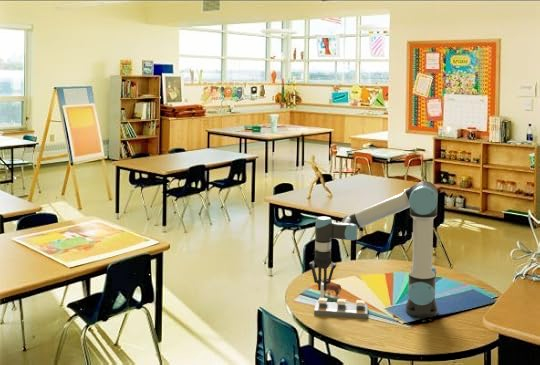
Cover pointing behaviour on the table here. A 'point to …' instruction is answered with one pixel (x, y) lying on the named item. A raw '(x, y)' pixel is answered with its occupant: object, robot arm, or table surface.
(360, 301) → the switch
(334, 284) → the bull figurine
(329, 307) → the switch panel
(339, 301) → the switch middle
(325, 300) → the switch
